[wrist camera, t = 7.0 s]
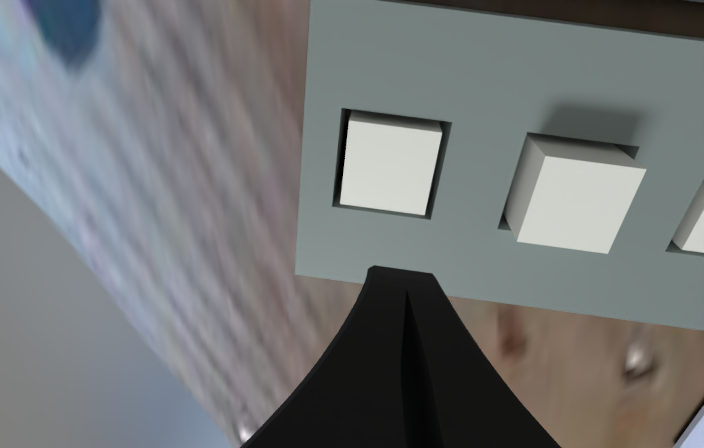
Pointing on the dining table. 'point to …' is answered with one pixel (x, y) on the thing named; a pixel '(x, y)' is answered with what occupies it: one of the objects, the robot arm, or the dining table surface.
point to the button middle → (570, 192)
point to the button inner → (692, 225)
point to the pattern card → (700, 0)
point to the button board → (505, 152)
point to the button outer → (389, 161)
